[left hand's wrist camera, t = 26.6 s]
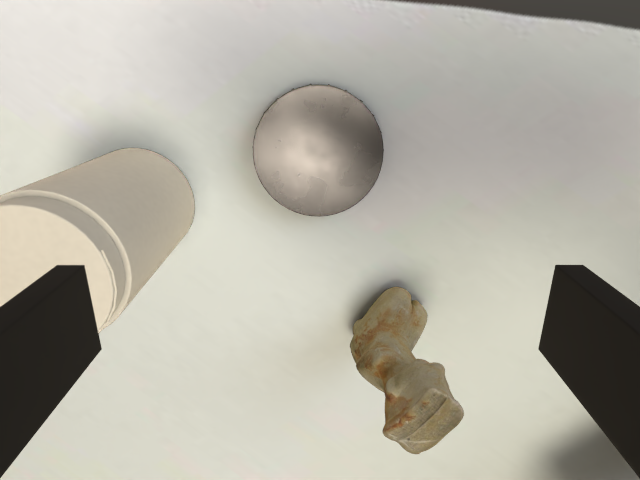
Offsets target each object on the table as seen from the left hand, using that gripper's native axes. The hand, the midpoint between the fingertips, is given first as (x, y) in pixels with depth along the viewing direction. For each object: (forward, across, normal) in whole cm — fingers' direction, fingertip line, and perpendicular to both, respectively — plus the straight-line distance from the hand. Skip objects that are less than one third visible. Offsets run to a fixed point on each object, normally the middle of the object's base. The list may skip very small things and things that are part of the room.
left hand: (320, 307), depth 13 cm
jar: (+26, +16, +4) cm, 31 cm away
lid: (+25, 0, 0) cm, 25 cm away
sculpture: (+26, -6, +16) cm, 31 cm away
